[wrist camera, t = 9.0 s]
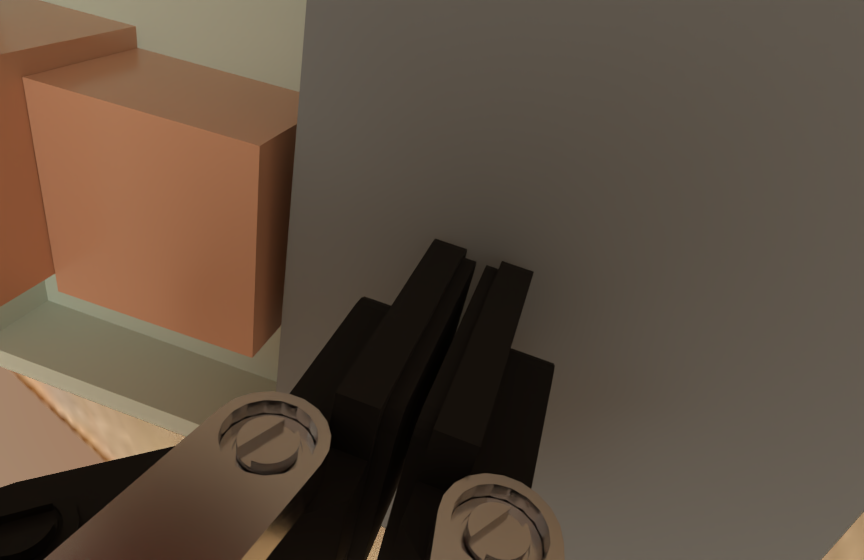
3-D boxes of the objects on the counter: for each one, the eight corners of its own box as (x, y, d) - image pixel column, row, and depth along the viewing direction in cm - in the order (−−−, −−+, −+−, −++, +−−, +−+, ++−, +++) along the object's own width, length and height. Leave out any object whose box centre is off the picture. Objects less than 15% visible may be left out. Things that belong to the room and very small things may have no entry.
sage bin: (360, -146, 11) (291, -163, 9) (301, 395, 18) (254, 462, 15) (-51, -240, 12) (-204, -276, 10) (43, 303, 19) (-35, 353, 17)
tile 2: (334, 101, 13) (260, 145, 10) (316, 285, 15) (252, 358, 13) (138, 47, 13) (22, 76, 11) (150, 232, 16) (58, 291, 13)
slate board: (1092, 22, 9) (1264, 59, 7) (717, 544, 16) (732, 659, 14) (393, -139, 11) (318, -157, 8) (321, 402, 18) (268, 483, 15)
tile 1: (-67, 68, 9) (-229, 20, 10) (-8, 311, 12) (-140, 264, 12) (136, 26, 13) (12, -8, 13) (149, 216, 15) (44, 183, 16)
